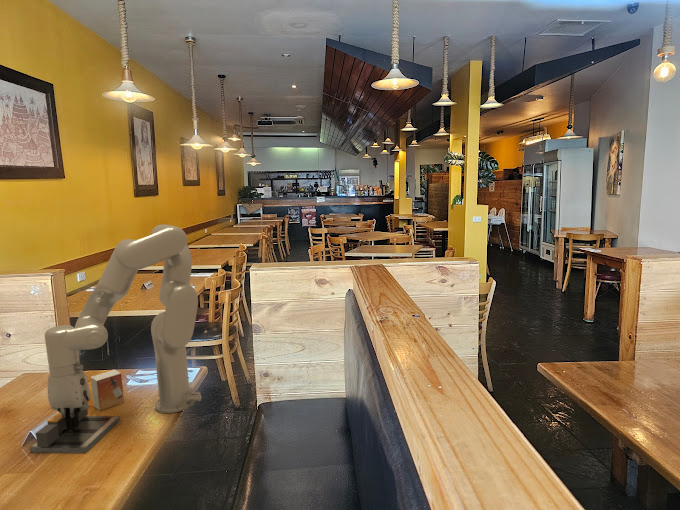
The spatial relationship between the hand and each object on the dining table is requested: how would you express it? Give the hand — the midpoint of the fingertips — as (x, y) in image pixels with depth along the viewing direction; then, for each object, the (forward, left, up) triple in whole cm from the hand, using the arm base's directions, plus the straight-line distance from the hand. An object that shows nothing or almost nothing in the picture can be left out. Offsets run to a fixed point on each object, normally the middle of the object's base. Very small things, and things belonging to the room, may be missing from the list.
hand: (72, 427), depth 128 cm
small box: (+1, -19, -3) cm, 19 cm away
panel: (-1, 0, -3) cm, 3 cm away
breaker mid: (+4, 0, -1) cm, 4 cm away
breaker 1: (+3, +7, -1) cm, 7 cm away
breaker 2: (+3, -6, -1) cm, 7 cm away
